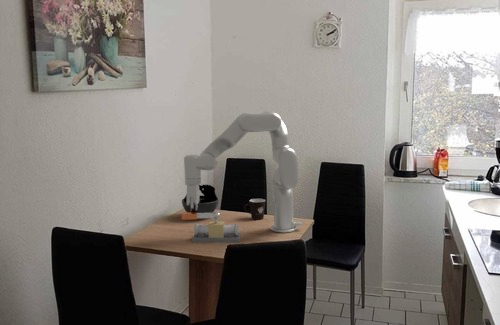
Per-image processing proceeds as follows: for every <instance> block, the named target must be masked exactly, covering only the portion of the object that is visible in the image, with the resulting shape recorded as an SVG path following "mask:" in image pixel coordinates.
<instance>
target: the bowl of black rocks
mask: <svg viewBox="0 0 500 325" xmlns="http://www.w3.org/2000/svg"><path fill="white" fill-rule="evenodd" d="M199 192H200V193H201V194H202V195H200V201H199V203H198V213H215V211H216V209H217V207H218V204H219V198H218V196H217V194H216V188H215V187H214V186H212V185H211V184H200V185H199ZM181 204H182V207H183V209H184V212H185V213H186V212H191V206H190V204H189V206H187V193H186V194H185V197H184V198H183V199H182V200H181Z"/></svg>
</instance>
